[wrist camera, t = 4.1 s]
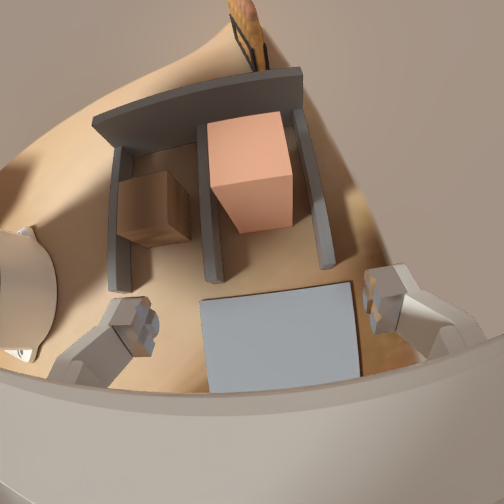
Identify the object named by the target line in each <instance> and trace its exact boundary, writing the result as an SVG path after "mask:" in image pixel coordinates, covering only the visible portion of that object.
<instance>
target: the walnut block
mask: <svg viewBox="0 0 504 504" xmlns="http://www.w3.org/2000/svg"><path fill="white" fill-rule="evenodd" d="M117 234H118V235H120V236H122V237H124V238H126V239H128V240H130V241H132V242H135V243H137V244H139V245H141V246H143V247H145V248H151V247H157V246H163V245H169V244H176V243H182V242H188V241H191V232H190V213H189V195H188V194H187V193H186V191H185V190H184V189H183V188H182V187H181V186H180V184H179V183H178V182H177V181H176V180H175V179H174V177H173V176H172V175H171V174H170V173H169V172H168V170H165V171H160V172H156V173H152V174H148V175H144V176H141V177H137V178H133V179H129V180H126V181H122V182H119V187H118V204H117Z"/></svg>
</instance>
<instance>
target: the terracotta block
mask: <svg viewBox="0 0 504 504" xmlns="http://www.w3.org/2000/svg"><path fill="white" fill-rule="evenodd" d="M207 131H208V152H209V169H210V186H211V189H212V190H213V192H214V193H215V195H216V197H217V198H218V200H219V201H220V203H221V204H222V206H223V207H224V209H225V211H226V212H227V214H228V215H229V217H230V218H231V220H232V221H233V223H234V225H235V226H236V228H237V229H238V231H239V232H240V234H242V233H249V232H256V231H263V230H270V229H277V228H285V227H292V213H293V174H292V169H291V164H290V158H289V153H288V148H287V143H286V139H285V134H284V129H283V124H282V120H281V115H280V111H279V112H271V113H264V114H257V115H251V116H245V117H239V118H233V119H228V120H223V121H218V122H213V123H208V124H207Z"/></svg>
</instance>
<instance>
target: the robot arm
mask: <svg viewBox="0 0 504 504" xmlns="http://www.w3.org/2000/svg"><path fill="white" fill-rule="evenodd" d="M364 280H365V282H366V285H365V286H364V288H363V304H364V308H365V311H366V313H367V314H369V315H370V321H369V322H370V324H371V327H372V330H373V333H374V335H377V334H383V333H388V332H394V331H396V333H397V334H398V335H400V336H401V337H402V338H403V339H404V340H406V341H407V342H408V343H409V344H410V345H411V346H413V347H414V348H415V349H416V350H417V351H418V352H420V353H421V354H422V355H423V356H424V357H425V358H427V360H426V362H422V363H418V364H414V365H411V366H407V367H403V368H399V369H395V370H391V371H386V372H382V373H377V374H373V375H368V376H363V377H358V378H353V379H347V380H342V381H336V382H330V383H323V384H316V385H309V386H301V387H293V388H284V389H274V390H262V391H247V392H226V393H167V392H146V391H131V390H120V389H110V388H107V387H108V386H109V385H110V384H111V383H112V382H113V380H114V379H115V378H116V377H117V376H118V375H119V374H120V372H121V371H122V370H123V369H124V368H125V367H126V365H127V364H128V363H129V362H130V361H131V360H132V359H133V357H151V355H152V352H153V348H154V345H155V343H154V341H153V339H154V338H155V337H156V336H157V335H158V332H159V319H158V316H157V314H156V312H155V311H153V310H152V309H150V306H151V302H150V300H149V299H148V297H145V296H141V297H124V298H114V299H112V300H111V302H110V304H109V306H108V307H107V309H106V311H105V313H104V315H103V317H102V319H101V321H100V323H99V325H98V326H95V327H94V328H92V329H91V330H90V331H89V332H87V333H86V334H85V335H84V336H83V337H81V338H80V339H79V340H78V341H76V342H75V343H74V344H73V345H72V346H70V347H69V348H68V349H67V350H65V351H64V352H63V353H62V354H61V355H59V356H58V357H57V359H56V361H55V363H54V365H53V367H52V369H51V371H50V373H49V375H48V377H47V379H45V378H40V377H35V376H31V375H26V374H22V373H18V372H14V371H10V370H6V369H3V368H0V504H504V334H502V335H500V336H497V337H495V338H492V339H490V340H487V339H486V337H485V335H484V333H483V332H482V330H481V328H480V327H479V325H478V323H477V322H476V320H475V318H474V317H473V316H471V315H469V314H468V313H466V312H464V311H462V310H461V309H459V308H457V307H455V306H454V305H452V304H450V303H448V302H446V301H445V300H443V299H441V298H439V297H437V296H436V295H434V294H432V293H430V292H428V291H426V290H421V288H420V287H419V285H418V284H417V282H416V280H415V279H414V277H413V276H412V274H411V273H410V271H409V269H408V268H407V266H406V265H405V264H404V263H399V264H394V265H391V266H384V267H378V268H372V269H366V270H365V273H364ZM56 301H57V284H56V276H55V271H54V267H53V264H52V261H51V258H50V256H49V254H48V253H47V251H46V250H45V249H44V248H43V247H42V246H41V245H40V244H39V243H38V242H37V240H36V237H35V234H34V231H33V229H32V228H30V227H23V228H22V229H20V230H19V231H18V232H16V233H14V232H10V231H7V230H3V229H0V350H4V351H6V352H8V353H10V354H11V355H13V356H15V357H17V358H19V359H20V360H22V361H24V362H27V363H32V362H34V360H35V357H36V354H37V350H38V347H39V345H40V343H41V342H42V341H43V340H44V339H45V337H46V336H47V334H48V332H49V330H50V328H51V326H52V323H53V319H54V315H55V310H56Z"/></svg>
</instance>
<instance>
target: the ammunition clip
mask: <svg viewBox="0 0 504 504" xmlns="http://www.w3.org/2000/svg"><path fill="white" fill-rule="evenodd" d="M228 5H229V8H230V13H231V14H229V15H230V19H231V23H232V27H233V32H234V36H235V39H236V41H237V43H238V45H239V46H240V48H241V50H242V52H243V54H244V56H245V57H246V59H247V61H248V63H249V65H250V67H251V69H252V71H253V72H258V71H265V70H270V69H269V62H268V55H267V48H266V45H265V43H264V41H263V35H262V29H261V26H260V23H259V20H258V17H257V12H256V8H255V6H254V4H253V2H252V1H251V0H228Z"/></svg>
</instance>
